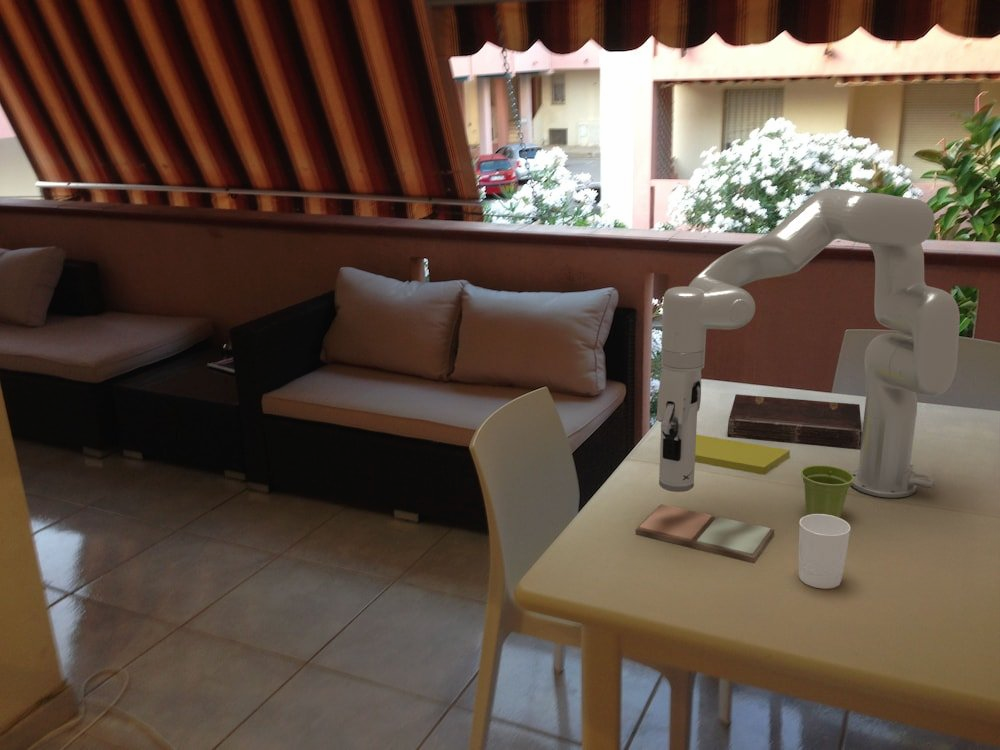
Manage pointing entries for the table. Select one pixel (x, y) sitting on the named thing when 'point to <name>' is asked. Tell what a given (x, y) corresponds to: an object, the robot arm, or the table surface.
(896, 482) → the robot arm
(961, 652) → the table surface
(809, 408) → the hardback book
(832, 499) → the plant pot
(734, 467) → the flat olive board
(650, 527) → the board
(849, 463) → the table surface
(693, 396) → the travel mug
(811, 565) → the white cup
